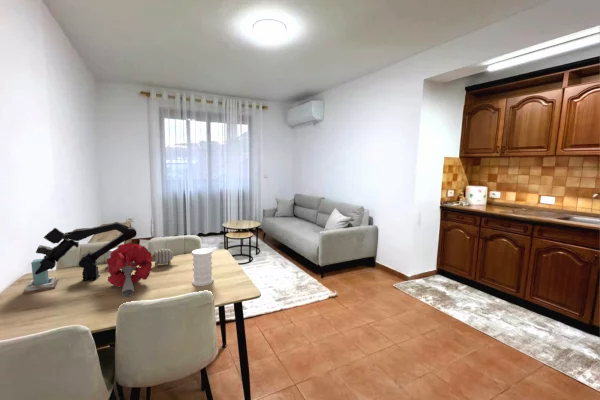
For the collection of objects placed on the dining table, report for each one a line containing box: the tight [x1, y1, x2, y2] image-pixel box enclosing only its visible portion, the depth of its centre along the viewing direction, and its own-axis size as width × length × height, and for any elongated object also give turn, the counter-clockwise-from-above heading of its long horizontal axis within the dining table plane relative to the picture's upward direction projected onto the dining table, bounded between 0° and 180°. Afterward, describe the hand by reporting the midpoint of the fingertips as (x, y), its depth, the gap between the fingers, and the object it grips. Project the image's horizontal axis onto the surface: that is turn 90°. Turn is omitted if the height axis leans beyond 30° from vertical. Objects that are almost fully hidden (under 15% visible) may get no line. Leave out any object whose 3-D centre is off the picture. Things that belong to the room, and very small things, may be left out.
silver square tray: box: [22, 276, 59, 295], centre depth 147 cm, size 12×12×3 cm
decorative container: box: [191, 247, 215, 287], centre depth 157 cm, size 12×12×18 cm
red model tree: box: [106, 242, 153, 297], centre depth 148 cm, size 22×24×30 cm
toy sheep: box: [151, 248, 179, 268], centre depth 182 cm, size 11×17×11 cm, turn 127°
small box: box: [106, 246, 119, 267], centre depth 181 cm, size 8×6×10 cm
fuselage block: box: [30, 258, 50, 286], centre depth 146 cm, size 5×5×13 cm
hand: (36, 272), depth 146 cm, fingers closed on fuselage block, 5 cm apart
